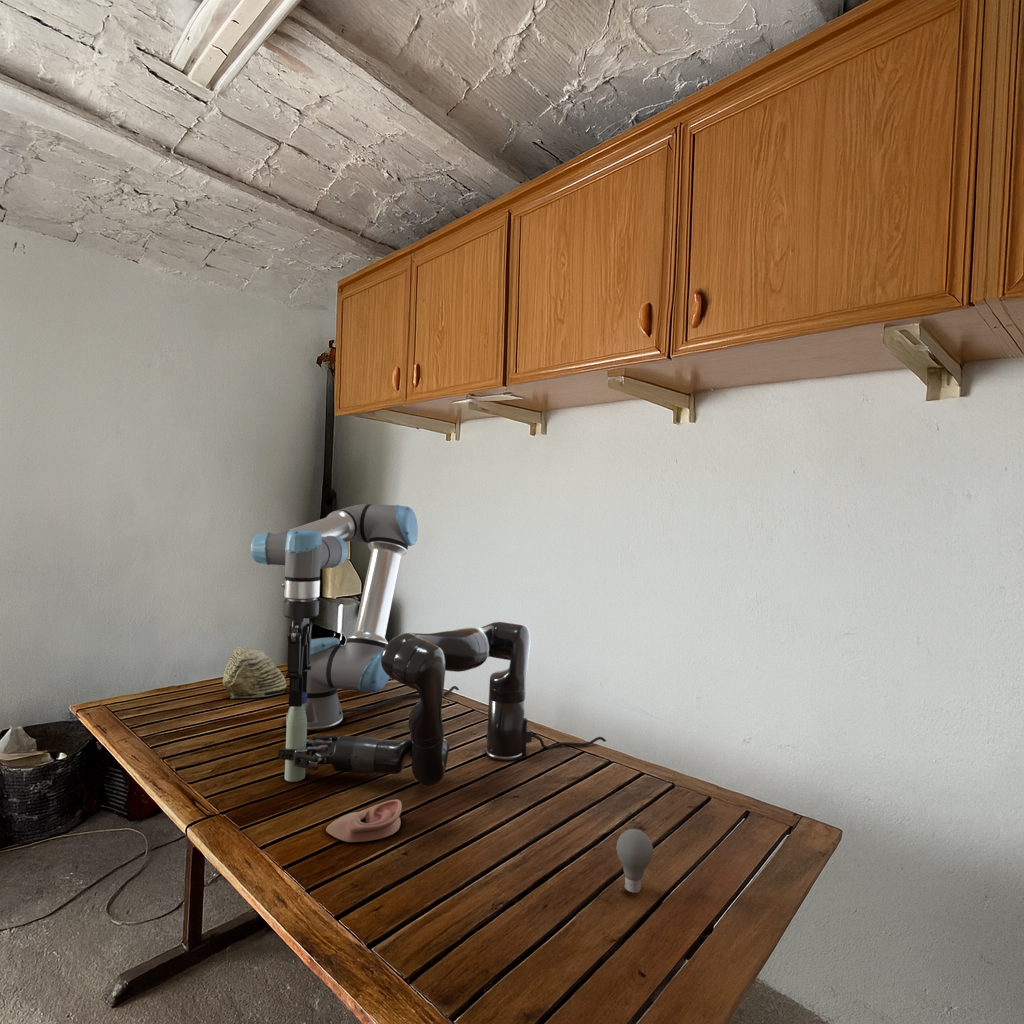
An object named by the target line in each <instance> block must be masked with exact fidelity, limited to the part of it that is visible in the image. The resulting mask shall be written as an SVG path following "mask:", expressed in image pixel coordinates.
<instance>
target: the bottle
mask: <svg viewBox="0 0 1024 1024" xmlns="http://www.w3.org/2000/svg"><path fill="white" fill-rule="evenodd" d="M285 729H286V731H285V735H286V736H285V749H296V750H297V749H306V740H307V736H308V732H307V717H306V713H305V707H304V704H302V706H301V707H291V708H290V711H289V715H288V718H287V726H286V728H285ZM302 754H305V753H302ZM305 778H306V768H302V767H297V766H294V760H284V780H285V781H286V782H290V783H293V782H300V781H302V780H304V779H305Z"/></svg>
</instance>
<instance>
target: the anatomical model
mask: <svg viewBox="0 0 1024 1024" xmlns="http://www.w3.org/2000/svg"><path fill="white" fill-rule="evenodd" d="M402 808H403V804H402V802H401V800H399V799H391V800H387V801H383V802H380V803H377V804H374V805H372V806H370V807H367V808H365V809H362V810H360V811H353V812H350V813H347V814H344V815H342V816H340V817H338V818H337V819H335V820H333V821H332V822H330V823H329V825H327V826H326V828H325V832H326V833H327V834H329V835H330V836H332V837H333V838H335V839H338V840H340V841H342V842H345V843H360V842H361V843H363V842H371V841H375V840H381V839H384V838H387V837H389V836H392V835H394V834H395V833H397V832H398V831H399V829H400V827H401V824H402V823H401V817H400V816H401V813H402Z"/></svg>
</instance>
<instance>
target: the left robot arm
mask: <svg viewBox="0 0 1024 1024" xmlns="http://www.w3.org/2000/svg"><path fill="white" fill-rule="evenodd" d="M418 525H419V524H418V519H417V516H416V513H415V512H414V510H413V508H411V507H410V506H405V505H400V504H373V503H372V504H371V503H362V504H361V503H360V504H355V505H351V506H347V507H344V508H340V509H338V510H337V509H336V510H334V511H332V512H330V513H328V515H327V516H326V517H323V518H321V519H318V520H315V521H311V522H308V523H306V524H302V525H299V526H296V527H293V528H290V529H287V530H284V531H280V532H276V533H272V532H265V533H264V532H261V533H258V534H256V535H255V536H254V537H253V539H252V541H251V544H250V555H251V557H252V560H253V561H254V562H256V563H257V564H264V565H267V566H270V565H273V566H284V582H283V583H281V587H282V588H283V589H284V591H283V597H284V598H285V599H284V601H283V610H282V612H283V613H282V615H283V616H284V617H285V618H287V619H291V620H292V621H291V625H289V628H288V629H289V630H288V633H287V635H286V636H287V637H286V638H287V674H285V679H286V678H289V683H288V684H289V685H288V699H289V703H288V707H289V708H288V711H287V713H286V715H285V726H286V727H287V718H288V715H289V711H290V708H291V707H301V706H302V692H306V693H307V702H306V703H305V704H304V707H305V713H306V717H307V733H316V732H325V731H329V730H332V729H335V728H337V727H339V726H340V725H342V723H343V722H344V713H352V712H353V713H354V712H365V711H369V710H373V709H375V708H376V709H377V708H379V707H381V706H385V705H388V704H390V703H391V702H393V701H397V700H400V699H407V698H408V699H409V698H420V695H419V693H415V694H403V695H402V694H401V695H398V696H394V697H391V698H389V699H387V700H385V701H382V702H378V703H376V704H373V705H369V706H366V707H353V708H345V709H342V706H341V702H340V699H339V695H338V689H339V690H347V691H354V692H360V693H377V692H380V691H381V690H382V689H383V688H384V687H385V686H386V685H387V684H388V682H389V680H390V678H391V677H390V676H388V675H387V674H386V673H385V671H384V670H383V668H382V665H381V656H382V653H383V650H384V648H385V647H386V645H387V644H388V643H389V641H388V640H387V639H386V634H387V629H388V624H389V619H390V614H391V608H392V604H393V599H394V593H395V588H396V583H397V580H398V579H397V578H398V574H399V573H398V572H399V568H400V563H401V558H402V557H404V556H405V555H406V554H408V549H409V547H412V546H414V545H415V544H416V543H417V541H418V536H419V535H418V534H419V526H418ZM347 542H355V543H367V547H368V549H369V550H370V552H371V553H370V557H369V562H368V567H367V571H366V576H365V581H364V585H363V589H362V594H361V599H360V602H359V603H360V604H359V608H358V613H357V618H356V621H355V622H356V623H355V627H354V632H353V633H352V634H350V635H349V636H347V638H346V641H345V644H343V645H342V644H340V643H341V641H340V639H339V638H338V637H334V636H333V637H318V638H313V639H312V628H313V622H312V621H310V619H313V618H316V617H318V616H319V612H320V601H319V599H318V598H319V597H320V596H321V595H320V592H321V570H324V569H334V568H336V567H338V566H340V565H342V564H343V563H345V561H346V560H347V558H348V555H349V547H348V545H347ZM454 690H456V691H460V689H459V687H458V686H456V685H453V686H451V687H450V688H449V689H448V690H447V691H443V697H444V696H446V695H449V694H451V693H452V692H453V691H454Z"/></svg>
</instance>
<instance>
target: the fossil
mask: <svg viewBox="0 0 1024 1024" xmlns="http://www.w3.org/2000/svg"><path fill="white" fill-rule="evenodd" d="M222 676H223V677H222V685H223V687H224V688H225V690H226V691H228V693H229V698H230V699H250V698H264V697H271V696H275V695H281V694H284V693H285V691H286V689H287V687H288V686H287V680H286V676H284V674H283V673H282V672H281V669H279V668H278V667H277V665H276V663H275V662H274V660H273V659H272V658H271V657H270V656H269V655H268V654H267V653H266V652H265V650H264V649H263V648H260V647H258V648H251V647H247V646H246V647H245V646H238V647H237V648H236V649H235V650H233V651H232V653H231V656H230V657H229V659H228V660H227V663H226V666H225V668H224V671H223V675H222Z"/></svg>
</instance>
